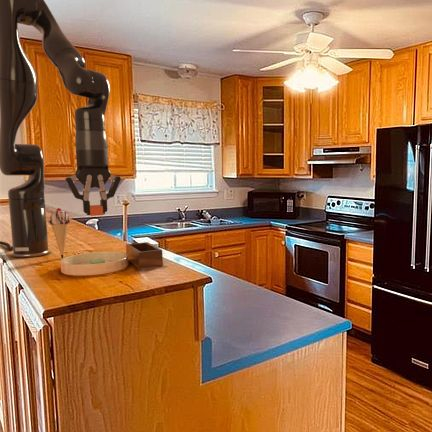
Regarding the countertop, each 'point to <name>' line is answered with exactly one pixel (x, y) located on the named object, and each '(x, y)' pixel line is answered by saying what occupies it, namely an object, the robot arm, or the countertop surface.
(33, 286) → the countertop surface
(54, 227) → the ice cream cone
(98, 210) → the orange rectangular block
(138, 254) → the holder
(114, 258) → the bowl
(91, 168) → the robot arm
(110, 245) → the countertop surface
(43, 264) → the countertop surface
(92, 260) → the green block
